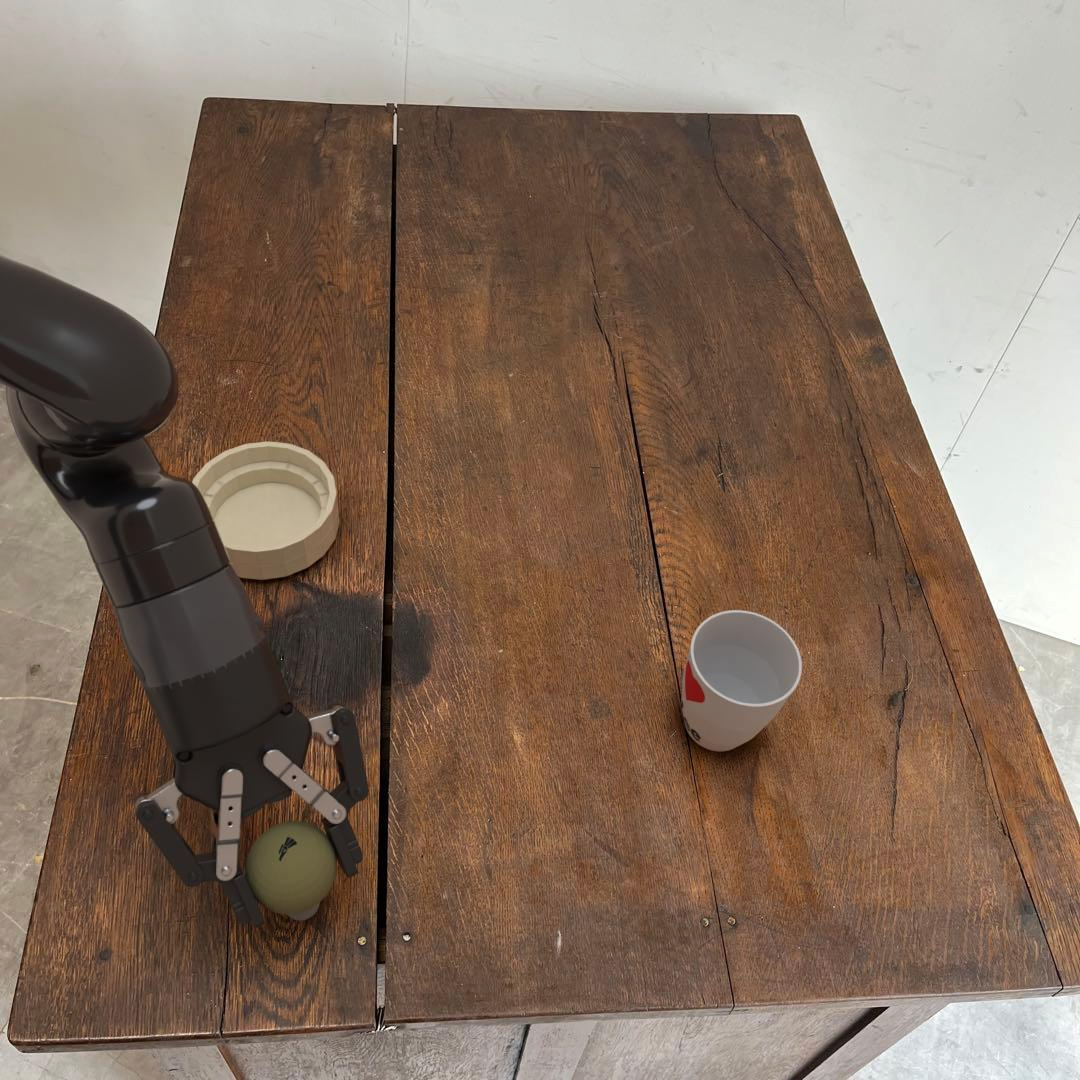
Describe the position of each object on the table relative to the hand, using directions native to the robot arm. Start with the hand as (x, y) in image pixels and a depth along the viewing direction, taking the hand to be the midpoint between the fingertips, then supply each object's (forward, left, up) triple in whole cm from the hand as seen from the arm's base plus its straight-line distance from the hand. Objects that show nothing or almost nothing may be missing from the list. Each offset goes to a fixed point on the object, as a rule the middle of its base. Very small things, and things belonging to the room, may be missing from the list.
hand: (304, 895), depth 65 cm
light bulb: (0, +2, -6) cm, 7 cm away
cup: (+34, -1, -7) cm, 35 cm away
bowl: (+11, +34, -6) cm, 36 cm away
